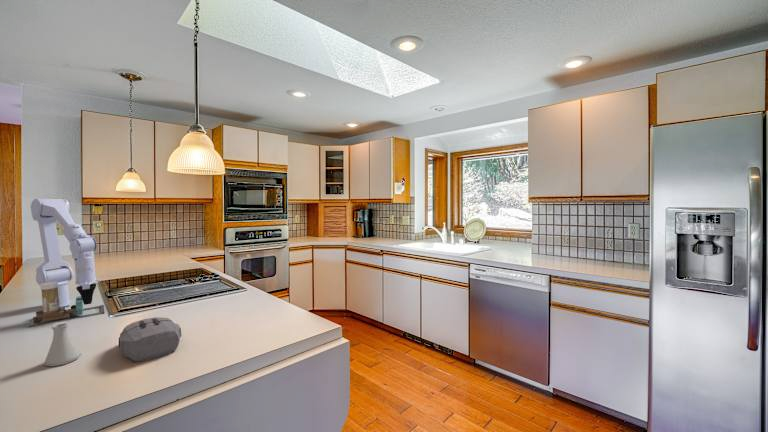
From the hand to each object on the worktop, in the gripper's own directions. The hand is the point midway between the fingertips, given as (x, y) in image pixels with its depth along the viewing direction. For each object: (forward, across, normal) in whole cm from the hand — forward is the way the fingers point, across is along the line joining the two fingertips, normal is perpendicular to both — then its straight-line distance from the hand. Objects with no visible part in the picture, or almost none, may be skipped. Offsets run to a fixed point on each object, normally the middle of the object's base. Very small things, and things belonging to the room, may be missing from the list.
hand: (87, 303), depth 131 cm
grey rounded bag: (+4, -52, -14) cm, 54 cm away
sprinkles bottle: (+4, 0, +10) cm, 11 cm away
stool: (+3, 0, +8) cm, 8 cm away
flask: (+4, -46, +5) cm, 46 cm away
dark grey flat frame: (+3, 0, +5) cm, 6 cm away
